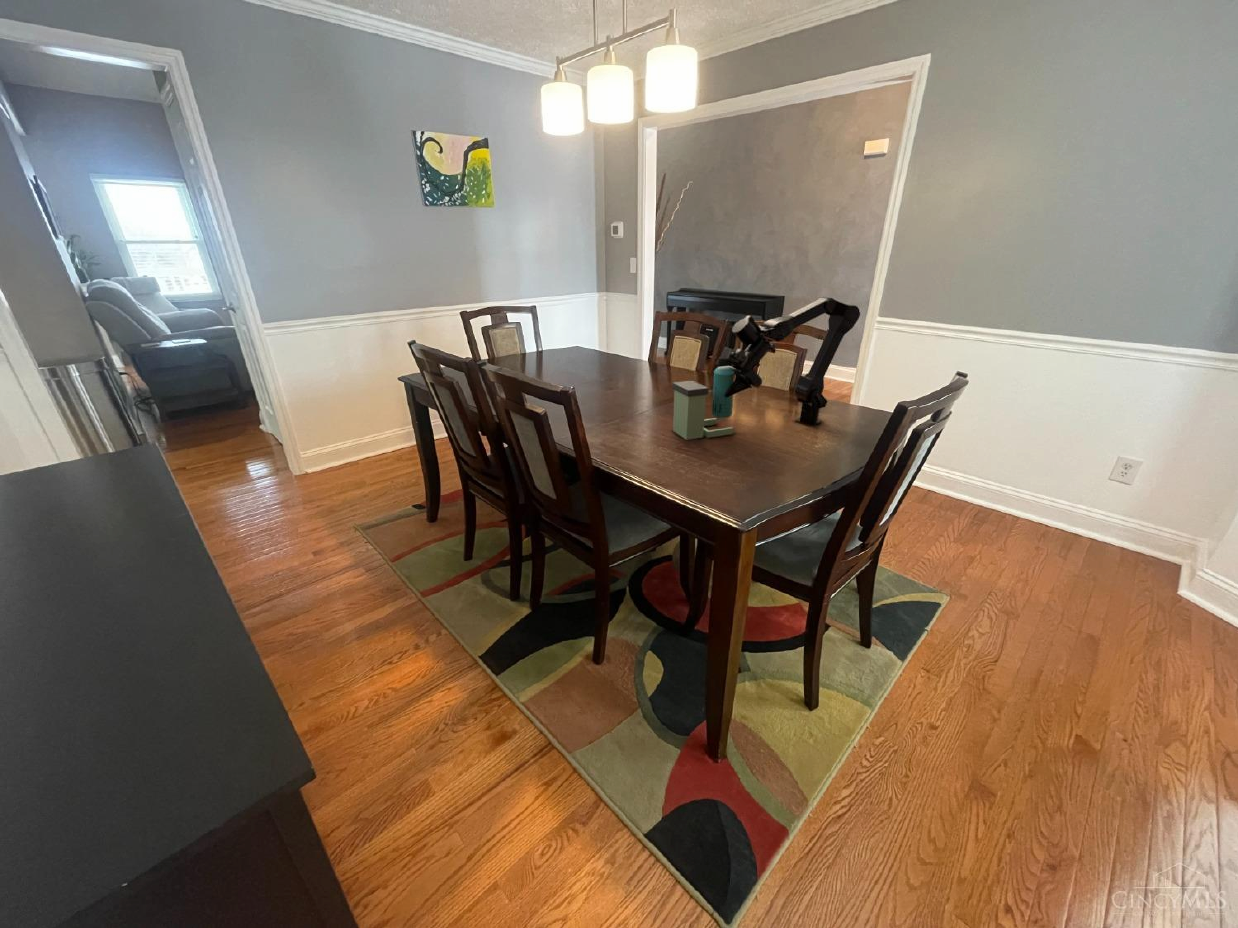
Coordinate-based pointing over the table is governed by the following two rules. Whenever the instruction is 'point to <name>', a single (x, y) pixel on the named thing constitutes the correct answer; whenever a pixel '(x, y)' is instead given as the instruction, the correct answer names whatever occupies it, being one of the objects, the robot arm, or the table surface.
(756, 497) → the table surface
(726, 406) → the beverage bottle
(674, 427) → the drink station
